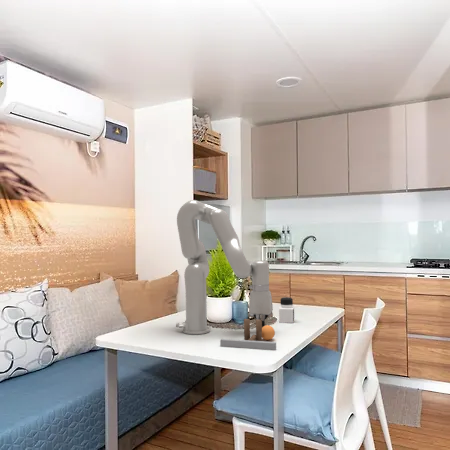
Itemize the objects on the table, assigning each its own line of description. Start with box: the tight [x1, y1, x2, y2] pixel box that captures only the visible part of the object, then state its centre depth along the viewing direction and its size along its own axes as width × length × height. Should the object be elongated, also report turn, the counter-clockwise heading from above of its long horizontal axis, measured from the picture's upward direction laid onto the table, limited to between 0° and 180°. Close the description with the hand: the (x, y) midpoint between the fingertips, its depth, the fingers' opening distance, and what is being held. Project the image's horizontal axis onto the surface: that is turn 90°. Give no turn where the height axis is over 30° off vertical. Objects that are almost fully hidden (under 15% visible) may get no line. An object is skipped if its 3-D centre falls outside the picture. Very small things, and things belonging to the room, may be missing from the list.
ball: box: [262, 324, 276, 341], centre depth 174 cm, size 6×6×6 cm
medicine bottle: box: [278, 296, 295, 324], centre depth 210 cm, size 7×7×12 cm
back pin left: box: [243, 318, 251, 340], centre depth 172 cm, size 2×2×9 cm
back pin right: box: [255, 319, 263, 341], centre depth 171 cm, size 2×2×9 cm
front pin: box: [248, 334, 256, 341], centre depth 170 cm, size 2×2×9 cm
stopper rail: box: [219, 338, 277, 351], centre depth 163 cm, size 22×2×2 cm, turn 73°
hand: (261, 329), depth 187 cm, fingers closed
